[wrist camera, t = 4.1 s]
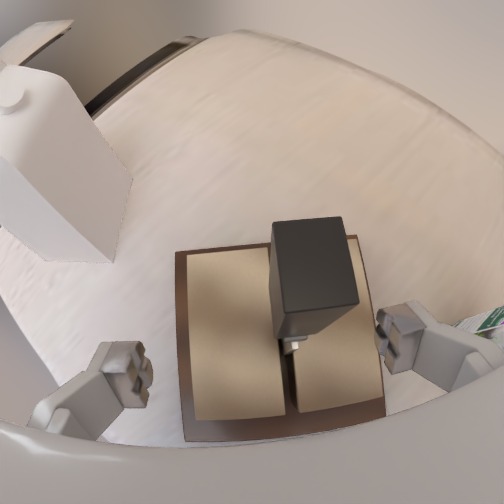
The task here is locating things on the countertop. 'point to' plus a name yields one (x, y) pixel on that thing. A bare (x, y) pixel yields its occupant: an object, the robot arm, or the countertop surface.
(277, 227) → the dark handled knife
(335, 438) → the robot arm
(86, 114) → the milk
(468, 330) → the syrup box
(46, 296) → the countertop surface
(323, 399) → the brown square slotted block
